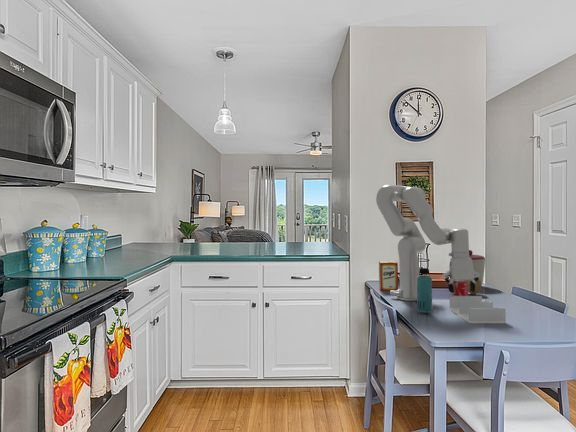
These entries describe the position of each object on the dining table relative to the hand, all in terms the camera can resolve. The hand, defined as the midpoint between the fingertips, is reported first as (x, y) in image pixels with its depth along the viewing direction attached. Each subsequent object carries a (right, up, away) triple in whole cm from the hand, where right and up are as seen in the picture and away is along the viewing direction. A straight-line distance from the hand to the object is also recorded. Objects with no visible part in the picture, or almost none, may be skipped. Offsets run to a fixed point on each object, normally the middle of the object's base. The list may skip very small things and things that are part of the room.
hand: (461, 291), depth 193 cm
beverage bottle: (-21, -8, -13) cm, 26 cm away
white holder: (-1, -7, -17) cm, 18 cm away
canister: (+24, -6, +47) cm, 53 cm away
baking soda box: (-24, -6, +41) cm, 48 cm away
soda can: (0, -7, +1) cm, 7 cm away
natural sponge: (+16, -6, +25) cm, 30 cm away
